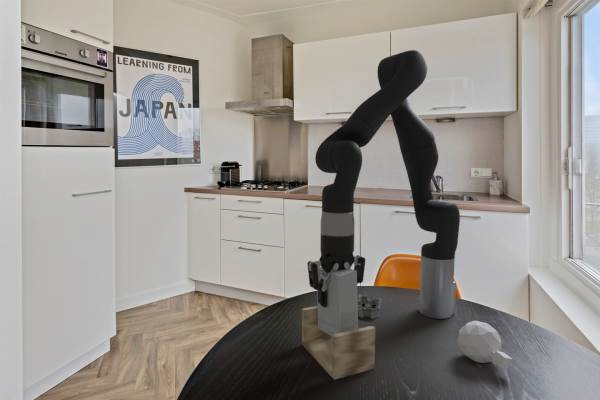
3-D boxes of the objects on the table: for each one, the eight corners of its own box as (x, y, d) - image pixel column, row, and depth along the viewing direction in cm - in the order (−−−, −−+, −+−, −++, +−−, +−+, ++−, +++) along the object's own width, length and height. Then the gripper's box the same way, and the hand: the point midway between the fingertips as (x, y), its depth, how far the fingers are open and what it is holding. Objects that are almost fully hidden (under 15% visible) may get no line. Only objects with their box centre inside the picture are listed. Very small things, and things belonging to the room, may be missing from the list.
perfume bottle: (443, 345, 86) (484, 379, 75) (458, 310, 85) (501, 339, 74) (469, 349, 90) (512, 383, 79) (484, 315, 89) (529, 344, 78)
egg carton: (359, 304, 117) (359, 292, 116) (382, 307, 114) (382, 294, 114) (353, 317, 107) (353, 303, 107) (378, 320, 105) (379, 307, 104)
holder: (337, 336, 95) (337, 302, 94) (374, 368, 80) (375, 328, 79) (302, 344, 90) (302, 308, 90) (334, 379, 76) (334, 337, 75)
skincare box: (358, 335, 83) (360, 271, 81) (337, 342, 80) (339, 275, 78) (335, 322, 90) (336, 262, 88) (315, 327, 87) (315, 266, 85)
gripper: (355, 226, 89) (354, 293, 90) (301, 230, 83) (300, 302, 84) (374, 231, 82) (372, 304, 84) (316, 237, 76) (315, 315, 78)
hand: (336, 303), depth 84 cm, fingers closed on skincare box, 6 cm apart
